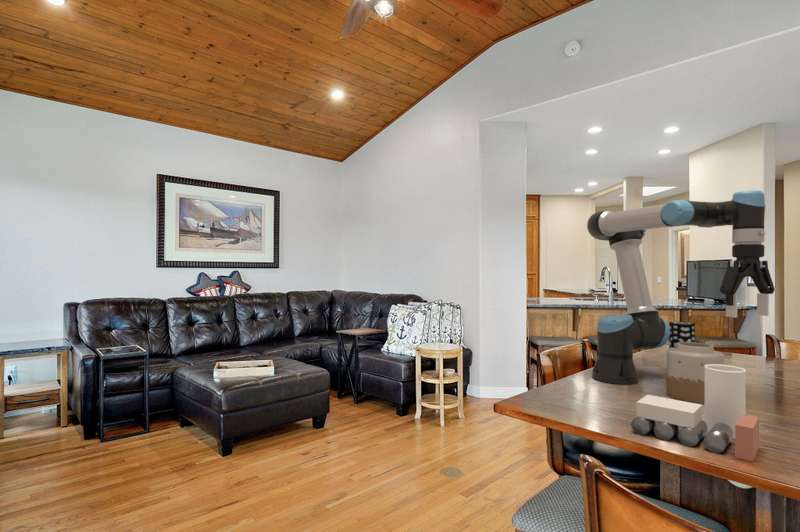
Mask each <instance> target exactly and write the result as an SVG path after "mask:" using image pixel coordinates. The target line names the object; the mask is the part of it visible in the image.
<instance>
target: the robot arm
mask: <svg viewBox="0 0 800 532" xmlns="http://www.w3.org/2000/svg"><path fill="white" fill-rule="evenodd" d="M765 197H766V196H765V193H764V191H762V190H752V189H751V190H742V191H741V190H740V191H738V192H737V191H736V192H734V193H733V194H732V198H731V200H727V201H718V202H717V201H716V202H715V201H714V202H712V201H694V200H684V199H675V200H673V199H672V200H669V201H667V202H665V203H663V204H656V205H650V206H645V207H637V208H632V209H625V210H620V211H614V210H599V211H597V212H594V213H592V214H591V216H589V218H588V220H587V224H586V228H587V232H588V233H589V235H590V236H591V237H592V238H594V239H596V240H599V241H605V242H606V241H608V244H609V248H610V249H611V250H613V251H615V252H614V253H615V257H616V262H617V267H618V272H619V276H620V281H621V285H622V291H623V295H624V301H625V304H626V312H625V313H617V314H606V315H602V316H599V318H598V320H597V327H596V331H597V333H596V334H597V336H596V337H597V357H596V360H595V363H594V366H593V369H592V372H591V373H592V375H591V377H592V379H593V380H596V381H599V382H603V383H607V384H614V385H633V384H634V385H635V384H637V383H639V374H638V371H637V368H636V366H635V362H634V356H633V355H634V352H633V351H634V350H636V351H637V350H654V349H659V348H662V347H663V346H665V345H666V343H667V342H669V336H670V328H669V323H668V321H666V320H665V319H664V318H663V317H661V316H660V313H659V310H657V309H656V308H655V307H654V306H653V304H652V298H651V295H650V294H651V293H650V289H649V286H648V281H647V276H646V271H645V267H644V262H643V258H642V254H641V253H642V252H641V250H640V249H641V248H640V246H641V245H642V243H643V238H644V236H645V235H646V232H647V230H651V229H661V228H668V227H669V228H671V227H673V228H674V227H681V226H683V227H684V226H692V227H693V226H695V227H696V226H697V227H698V228H713V227H714V228H715V227H724V226H732V230H731V231H732V236H731V243H732V244H733V245H732V247H731V249H732V250H731V256H732V258H736V260H735V259H733V260H732V259H729V260H727V267H726V270H725V272H724V273H725V274H724V276H723V278H722V282H721V285H720V287H719V292H721V294H722V295H725V317H727V318H735V319H736V318H738V294H736V292H737V291H738V289H739V287H740V286H741V284H742V282H744V279H745V278H747V277H749V278H751V280H752V282H753V283H754V285H755V288H756V289H757V291H758V292H759V293H757V295H756V316H764V317H769V313H770V312H769V304H770V301H769V300H770V295H773V294H774V292H775V286H774V283H773V279H772V276H771V273H770V270H769V261H768V260H760V258H764V257H765V248H766V247H765V245H764V244H763V243H764V242H765V235H766V232H765V217H766V216H765V215H766V199H765Z"/></svg>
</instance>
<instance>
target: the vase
mask: <svg viewBox="0 0 800 532" xmlns="http://www.w3.org/2000/svg"><path fill="white" fill-rule="evenodd" d="M665 357H666V362H665V363H666V364H665V368H666V369H665V370H666V373H665V374H666V378H665V381H666V382H665V384H666V385H665V386H666V388H665V389H666V395H667V396H669V398H671V399H674V400H679V401H684V402H690V403H695V404H701V405H705V365H708V364H720V365H726V364H725V362H726V361H725V360H726V359H725V355H724V353H722V352H720V351H717V350H715V349H714V345H712V344H709V343H703V342H696V341H695V342H678V343H676V347H674V348H669V347H668V348H667V349H666V356H665Z"/></svg>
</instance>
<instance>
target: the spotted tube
mask: <svg viewBox="0 0 800 532" xmlns="http://www.w3.org/2000/svg"><path fill="white" fill-rule="evenodd" d="M668 325H669V328H670V336H669V339H668V349H669V348H674V347H676V343H678V342H695V343H696V323H694V322H687V321H669V323H668Z"/></svg>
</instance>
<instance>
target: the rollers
mask: <svg viewBox="0 0 800 532" xmlns="http://www.w3.org/2000/svg"><path fill="white" fill-rule="evenodd" d="M631 429H632V430H633V431H634V432H635V433H636V434H637V435H639V436H644V435H645V436H646V434H648V433H649V432H651V431H652V430H653V433H654V435H655V436H656V437H657V438H658V439H659V440H662V441H669V440H671V439H672V438H673V437H674V436H676V435H677V438H678V440H679V442H680V443H681V444H683V445H684V446H687V447H695V446H696V445H697V444H698V443H699V442H700V441H701V439H702V438H703V444H704V446H705V448H706V449H707V450H708V451H710V452H712V453H715V454H720V453H722V452H724V451H725V449H726V448H727V446H728V445H729V444H730V442H731V441H732V439H733V438H732V437H733V430H732V429H731V428H730V427H729V426H728V425H726V424H724V423H717V424H715V425H714V426H713V428H712V429H711V430H710V431H709V432H707V430H708V427H707V424H706V423H705V422H704V420H703V419H702V420H701V421H700V422H699V423H698V424H697V426H696V427H695V428H694V429H693V428H688V427H684V426H679V425H674V424H670V423H665V422H661V421H656V420H651V419H647V418H642V417H637V416H636V417H635V418H633V419H632V421H631Z"/></svg>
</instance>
